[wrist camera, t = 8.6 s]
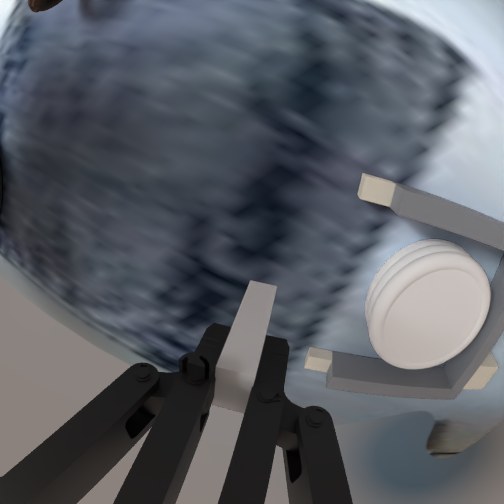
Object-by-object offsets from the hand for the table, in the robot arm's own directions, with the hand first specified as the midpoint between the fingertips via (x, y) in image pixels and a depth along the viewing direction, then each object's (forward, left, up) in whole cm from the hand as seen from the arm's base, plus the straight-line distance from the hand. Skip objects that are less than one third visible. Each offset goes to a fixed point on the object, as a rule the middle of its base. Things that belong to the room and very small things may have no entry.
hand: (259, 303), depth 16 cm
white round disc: (+12, 0, -6) cm, 13 cm away
